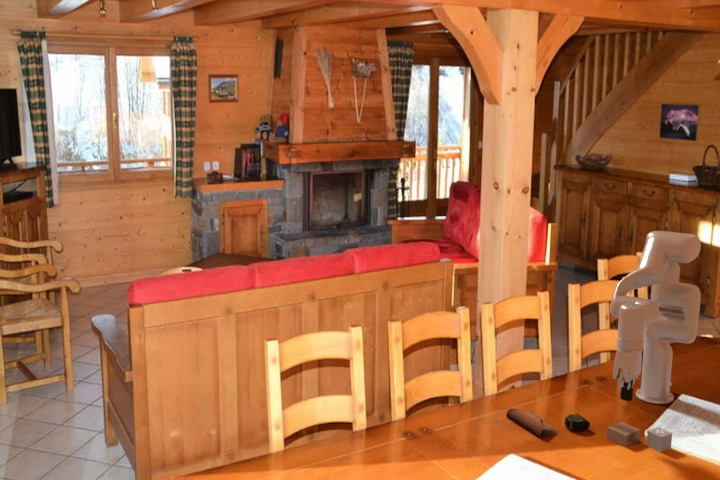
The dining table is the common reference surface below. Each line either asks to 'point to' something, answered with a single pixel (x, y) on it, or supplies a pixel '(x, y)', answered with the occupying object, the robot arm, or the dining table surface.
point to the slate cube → (659, 439)
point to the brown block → (623, 434)
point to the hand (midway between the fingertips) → (626, 399)
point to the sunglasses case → (531, 422)
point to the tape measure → (576, 422)
